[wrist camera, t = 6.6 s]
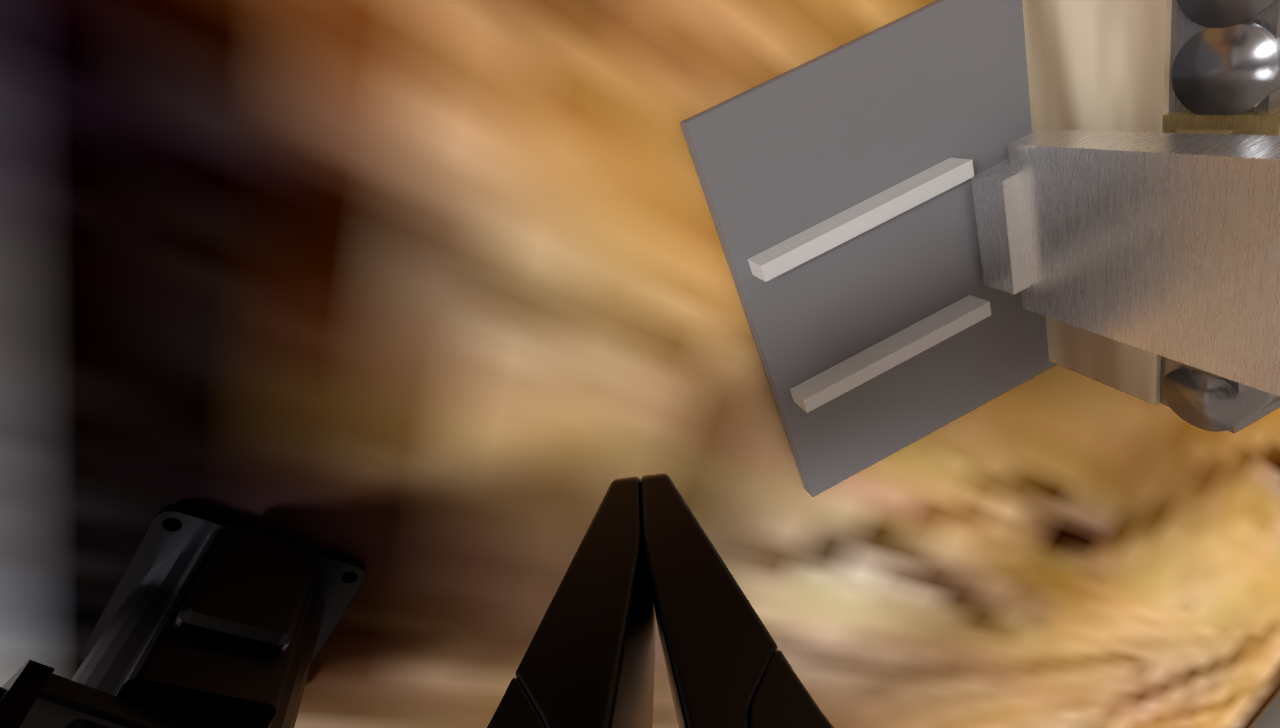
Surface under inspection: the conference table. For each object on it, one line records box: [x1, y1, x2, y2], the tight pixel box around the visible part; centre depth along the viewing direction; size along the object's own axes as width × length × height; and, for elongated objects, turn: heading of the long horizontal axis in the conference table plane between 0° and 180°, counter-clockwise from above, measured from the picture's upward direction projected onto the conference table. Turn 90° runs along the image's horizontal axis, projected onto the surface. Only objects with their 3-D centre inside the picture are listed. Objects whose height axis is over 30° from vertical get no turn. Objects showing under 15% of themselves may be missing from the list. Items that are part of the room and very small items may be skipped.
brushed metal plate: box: [971, 129, 1280, 397], centre depth 18 cm, size 6×6×10 cm
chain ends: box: [1160, 0, 1280, 433], centre depth 18 cm, size 2×16×3 cm, turn 23°
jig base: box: [680, 0, 1056, 497], centre depth 22 cm, size 15×16×2 cm
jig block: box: [1022, 0, 1172, 405], centre depth 21 cm, size 2×15×4 cm, turn 23°
